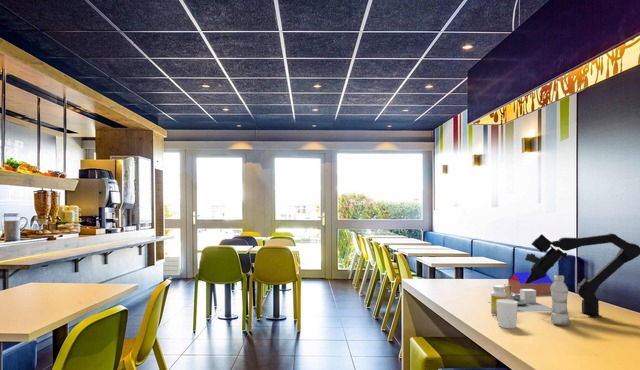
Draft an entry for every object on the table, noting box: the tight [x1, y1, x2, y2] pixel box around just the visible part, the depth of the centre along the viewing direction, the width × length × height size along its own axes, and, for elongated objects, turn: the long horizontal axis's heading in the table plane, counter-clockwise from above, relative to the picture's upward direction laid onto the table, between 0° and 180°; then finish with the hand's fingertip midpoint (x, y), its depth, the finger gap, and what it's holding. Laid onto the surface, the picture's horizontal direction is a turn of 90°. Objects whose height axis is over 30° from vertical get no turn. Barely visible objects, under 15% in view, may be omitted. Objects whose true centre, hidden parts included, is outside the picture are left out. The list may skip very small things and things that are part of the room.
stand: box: [488, 289, 552, 313], centre depth 205 cm, size 20×24×7 cm
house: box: [507, 271, 554, 296], centre depth 243 cm, size 12×20×12 cm, turn 99°
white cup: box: [496, 299, 518, 329], centre depth 174 cm, size 8×8×10 cm
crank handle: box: [503, 283, 527, 305], centre depth 207 cm, size 15×9×10 cm, turn 133°
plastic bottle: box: [550, 274, 570, 326], centre depth 176 cm, size 6×7×20 cm
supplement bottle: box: [490, 284, 507, 317], centre depth 191 cm, size 7×7×13 cm
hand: (526, 283), depth 203 cm, fingers closed
